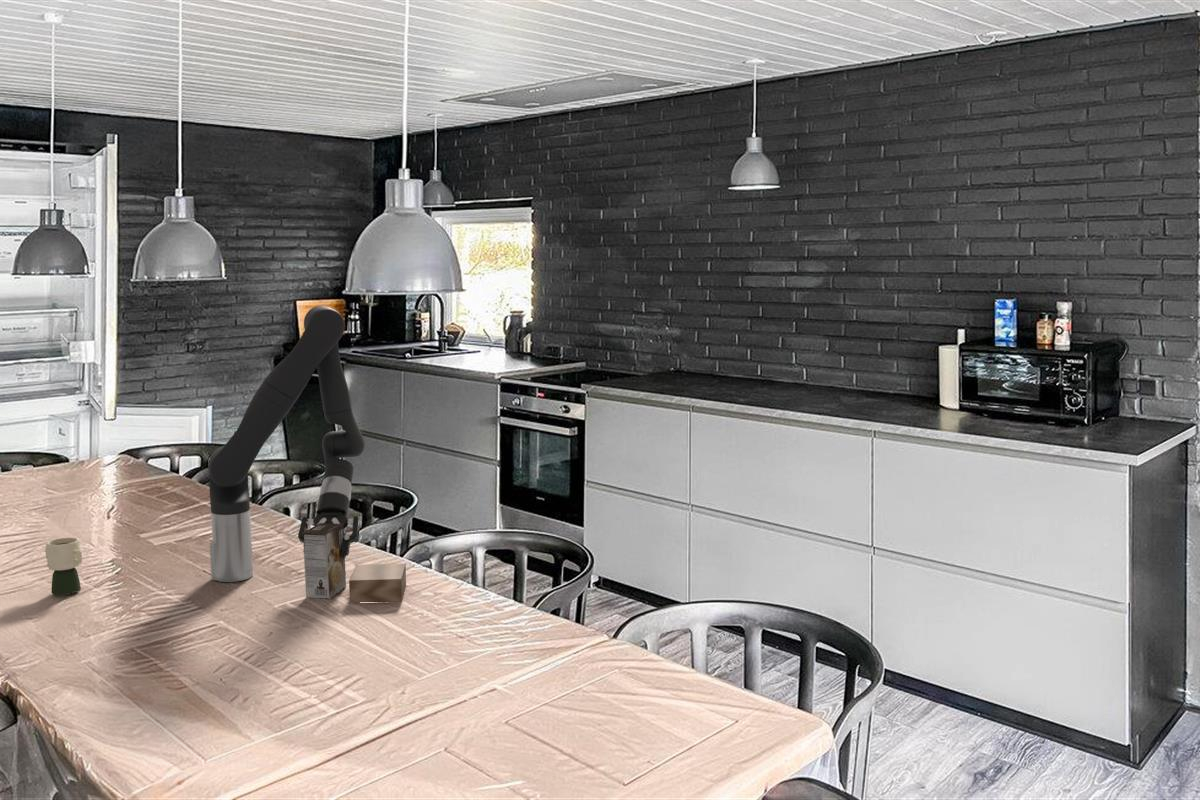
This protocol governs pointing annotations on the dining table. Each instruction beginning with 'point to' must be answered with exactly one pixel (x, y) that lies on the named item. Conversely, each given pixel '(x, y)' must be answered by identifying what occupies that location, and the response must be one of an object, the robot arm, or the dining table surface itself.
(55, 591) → the character mug
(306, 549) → the coffee box
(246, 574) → the robot arm
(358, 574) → the walnut block
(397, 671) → the dining table surface
